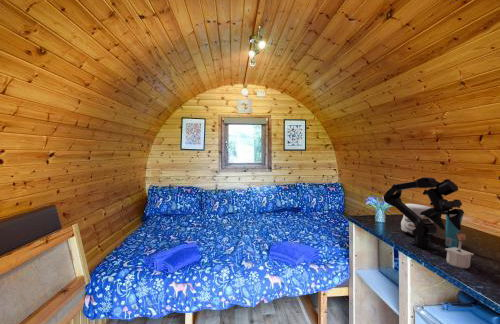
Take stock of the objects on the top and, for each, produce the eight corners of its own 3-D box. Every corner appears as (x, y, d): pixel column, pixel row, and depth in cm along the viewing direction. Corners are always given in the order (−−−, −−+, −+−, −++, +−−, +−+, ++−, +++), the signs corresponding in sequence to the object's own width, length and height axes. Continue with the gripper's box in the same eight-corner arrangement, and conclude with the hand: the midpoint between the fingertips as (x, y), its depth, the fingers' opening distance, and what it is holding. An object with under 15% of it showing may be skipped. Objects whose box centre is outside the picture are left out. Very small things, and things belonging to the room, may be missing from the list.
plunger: (448, 251, 113) (450, 232, 113) (455, 250, 115) (457, 231, 115) (462, 257, 108) (464, 236, 108) (469, 255, 110) (471, 235, 110)
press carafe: (442, 261, 114) (444, 248, 114) (456, 258, 118) (457, 246, 118) (462, 269, 107) (464, 255, 107) (475, 266, 111) (477, 253, 110)
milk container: (406, 237, 145) (409, 207, 144) (396, 228, 162) (398, 202, 161) (439, 241, 141) (442, 211, 140) (425, 232, 158) (428, 205, 157)
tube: (459, 247, 133) (463, 213, 132) (459, 250, 130) (463, 215, 129) (442, 243, 138) (446, 210, 137) (441, 245, 135) (445, 211, 134)
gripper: (435, 192, 116) (451, 224, 108) (466, 193, 120) (484, 224, 111) (417, 201, 125) (430, 231, 117) (446, 202, 129) (461, 231, 121)
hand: (452, 229), depth 116 cm, fingers open, 9 cm apart
